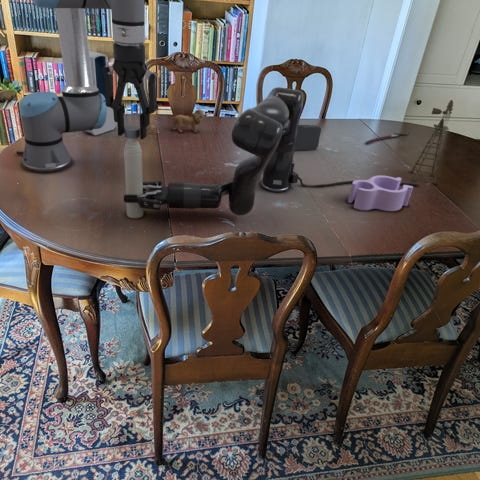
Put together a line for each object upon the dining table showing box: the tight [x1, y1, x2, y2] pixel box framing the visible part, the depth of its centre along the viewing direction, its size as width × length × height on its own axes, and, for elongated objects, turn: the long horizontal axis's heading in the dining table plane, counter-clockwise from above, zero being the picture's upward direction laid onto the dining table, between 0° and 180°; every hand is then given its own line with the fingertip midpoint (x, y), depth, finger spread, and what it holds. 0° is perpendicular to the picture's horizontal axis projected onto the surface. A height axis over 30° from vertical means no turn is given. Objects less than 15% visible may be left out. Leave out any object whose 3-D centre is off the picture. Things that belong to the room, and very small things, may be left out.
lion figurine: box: [169, 108, 205, 133], centre depth 196 cm, size 15×5×9 cm, turn 110°
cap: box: [124, 125, 140, 139], centre depth 124 cm, size 4×4×2 cm
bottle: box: [123, 137, 144, 219], centre depth 130 cm, size 5×5×25 cm
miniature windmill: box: [410, 99, 454, 185], centre depth 171 cm, size 9×8×30 cm
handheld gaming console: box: [294, 124, 322, 151], centre depth 189 cm, size 23×3×10 cm, turn 108°
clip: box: [347, 175, 414, 212], centre depth 156 cm, size 20×12×7 cm, turn 109°
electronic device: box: [83, 50, 117, 136], centre depth 182 cm, size 12×8×30 cm, turn 148°
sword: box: [365, 132, 410, 145], centre depth 213 cm, size 31×3×1 cm, turn 126°
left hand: (132, 135), depth 124 cm, fingers open, 5 cm apart
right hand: (125, 194), depth 133 cm, fingers closed on bottle, 5 cm apart
